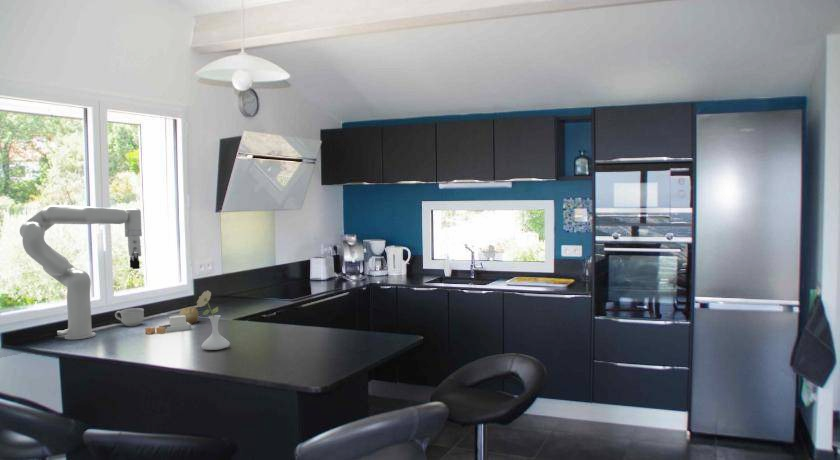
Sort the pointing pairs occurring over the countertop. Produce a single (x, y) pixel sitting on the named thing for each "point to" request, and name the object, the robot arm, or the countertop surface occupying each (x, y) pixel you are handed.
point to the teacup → (131, 316)
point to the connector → (176, 321)
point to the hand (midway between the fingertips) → (134, 268)
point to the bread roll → (190, 314)
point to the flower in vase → (215, 339)
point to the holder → (178, 328)
